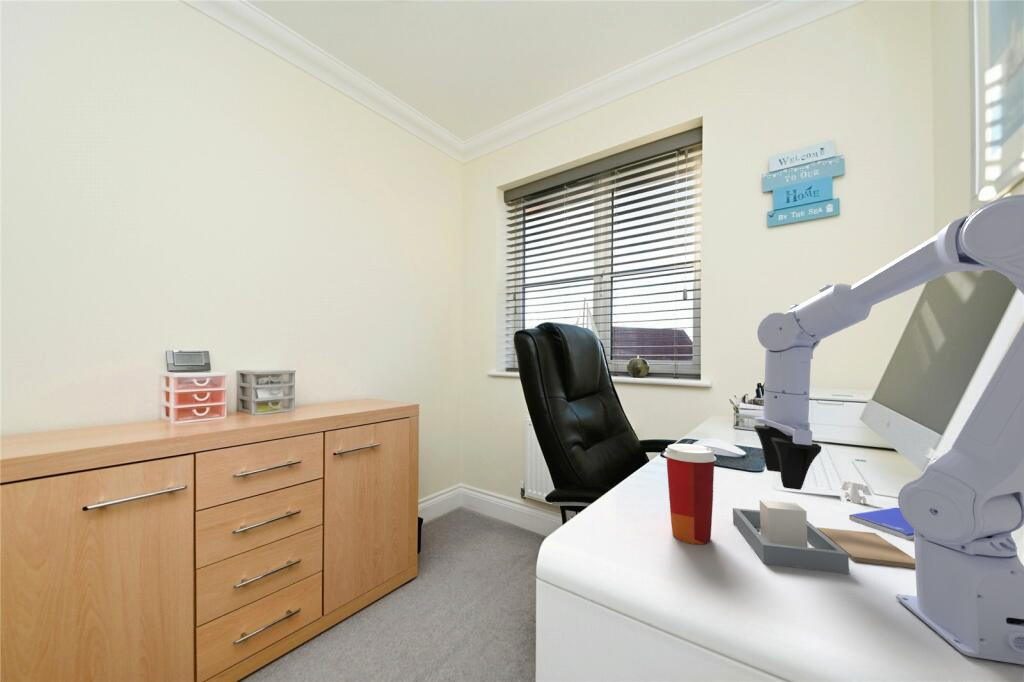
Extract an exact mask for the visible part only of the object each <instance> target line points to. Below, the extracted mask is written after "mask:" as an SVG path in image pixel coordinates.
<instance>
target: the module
mask: <svg viewBox="0 0 1024 682" xmlns="http://www.w3.org/2000/svg"><path fill="white" fill-rule="evenodd" d="M759 510H760V527H759V529H760V532H759V534H760V535H761V536H762V537H763V538H764V540H765V541H766V542H767V543H772V544H781V545H790V546H799V547H809V546H808V544H809V542H808V541H807V521H808V519H807V518H808V517H807V510H805V509H804V508H803V507H801V506H800V505H799V504H798V503H797V502H791V501H779V500H768V499H767V500H766V499H759Z"/></svg>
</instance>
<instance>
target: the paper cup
mask: <svg viewBox="0 0 1024 682" xmlns="http://www.w3.org/2000/svg"><path fill="white" fill-rule="evenodd" d="M663 456H664V457H666V469H667V485H668V487H667V488H668V497H669V499H668V501H669V512H670V521H671V524H670V525H671V532H672V536H673V537H674V538H675V539H677V540H679V541H681V542H683V543H687V544H691V545H707V544H709V543H710V542H711V538H712V526H713V525H712V524H713V523H712V522H713V505H714V475H715V462H716V461H717V457H716V456H715V454H714V451H713V450H712V449H711V448H710V447H707V446H704V445H700V444H698V445H697V444H690V443H672V444H668V445H667V448H665V452H664V453H663Z"/></svg>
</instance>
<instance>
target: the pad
mask: <svg viewBox="0 0 1024 682" xmlns="http://www.w3.org/2000/svg"><path fill="white" fill-rule="evenodd" d="M816 528H817V529H818V530H819V531H820V532H822V533H823V534H824V535H825V536H827V537H828V538H829V539H830V540H831V541H833V542H834V543H835V544H836V545H838V546H839V547H840V548H841V549H842V550H844V551H845V552H846V553H847V554H848V557H849V559H850V560H851V561H853V562H858V563H865V564H866V563H867V564H875V565H882V566H883V565H885V566H893V567H901V568H909V569H910V568H911V569H916V567H915V557H913V556H910V555H909V554H908V553H906V552H905V551H904V550H902V549H900V548H899V547H897V546H896V545H894V544H893V543H891V542H889V541H888V540H887V539H885V538H883V537H881V536H880V535H879V534H878V533H876V532H869V531H868V532H867V531H859V530H858V531H857V530H848V529H837V528H828V527H827V528H825V527H818V526H817V527H816Z"/></svg>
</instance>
